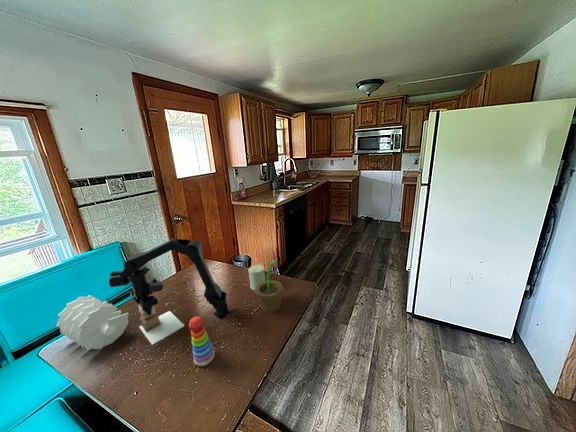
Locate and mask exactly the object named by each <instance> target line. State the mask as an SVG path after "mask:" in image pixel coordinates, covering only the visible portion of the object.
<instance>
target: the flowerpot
mask: <svg viewBox="0 0 576 432" xmlns="http://www.w3.org/2000/svg"><path fill="white" fill-rule="evenodd" d="M272 257H273V259H272V262H271V263H270V264H269V267H268V270H267V275H266V278H267V279H266V280H265V282H261V283H260V284H258V285H257V286H256V288H255V290H254V293H255V296H256V298H257V299H258V302H259V305H260V308H261V310H262V311H263V312H267V313H273V312H276V311H278V310H279V309H280V308H281V306H282V305H281V303H282V295H283V293H284V285H283V284H282V283H281V282H280V281H278V280H274V279H273V280H271V279H270V276H271V272H272V267H273V266H274V267H273V268H274V273H275V276H277V262H276V254H275V251H274V250H272Z"/></svg>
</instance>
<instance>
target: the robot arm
mask: <svg viewBox="0 0 576 432" xmlns="http://www.w3.org/2000/svg"><path fill="white" fill-rule="evenodd" d="M171 251H175V252H178V253H179V254H181V255H186V257H187V258H188V260H189V261H191V262H192V263H193V264H194V266H195V268H196V270H197V273H198V274H199V277H200V278H201V280H202V283H203V285H204V288H205V289H204V293H203V296H204V299H206V302H207V303H208V304H209V305H212V307H213V308H214V309H215V312H213V315H214V317H216V318H217V319H219V320H222V319H223V318H225V317H227V316H229V315H230V314H231V313H232V310H230V309H229V307H228V301H227V295H228V293H226V291H224V290H222V289H221V287H220V286H219V285H218V283H216V282H215V281H214V278H213V276H212V274H211V272H210V270H209V267H208V265H207V263H206V261H205V259H204V253H203V248H202V244H201V242H200V241H199V240H195V239H193V240H192V239H185V238H178V237H177V238H176V237H172V238H171V239H170V240H168V241H166V242H163V243H161V244H159V245H157V246H155V247H152V249H149V250H148V251H143V252H139V253H136V254H133V255H132V256H130V257H129V258H128V259H127V260H126V261H124V265H123V267H124V268H123V270H117V271H116V270H114V271H112V272H110V273H109V282H108V285H109V287H111V288H117V287H125V286H129V284H130V283H131V290H130V291H129V294H130V296H131V297H132V298H133V300H134V301H135V303H136V304H137V305H140V307H141V308H142V309H143V310H144V311H145V312H146V313H147V314H148V315H151V312H152V306H154V307H155V306H156V305H158V304H159V303H160V302H159V299H158V297H156V296H155V295H152V294H153V293H154V292H162V291H163V289H164V283H163V282H161V281H159V280H157V279H156V278H152V279H150V281H149V282H148V279H147V276H146V275H147V274H148V273H149V272H150V268H148V267H146V266H145V265H146V264H148V263H149V262H150V261H152V260H154V259H156V258H158V257H160V256H162V255H164V254H166V253H168V252H171ZM142 267H143V268H142Z"/></svg>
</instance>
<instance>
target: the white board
mask: <svg viewBox="0 0 576 432" xmlns="http://www.w3.org/2000/svg"><path fill="white" fill-rule="evenodd" d="M158 317H159V321H160V325H159V326H157V327H155V328H153V329H151V330H150V331H148V332H146V331H145V330H144V328H143V327H142V324H141V325H139V326H138V327H139V329H140V330H141V332H142V333H143V335H144V336H145V338H146V339H147V341H149V342H148V343H150V344H151V346H154V345H155V344H157V343H158V342H161V340H163V339H166V338H167V337H169V336H171V335H172V334H174V333H176V332H177V331H179V330H181V329H183V328H184V327H185V324H184V323H183V322H181V321H180V319H179V318H178V317H176V315H174V314H173V313H172V312H171V311H170V310H169V311H166V312H165V313H162V314H160V315H158Z"/></svg>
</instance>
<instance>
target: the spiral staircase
mask: <svg viewBox="0 0 576 432" xmlns="http://www.w3.org/2000/svg"><path fill="white" fill-rule="evenodd" d="M57 316H58V317H59V318H58V321H57V324H56V326H55V327H57V328H59V330H60V335H61V336H63V335H64V336H66V337H67V338H68V340H69V341H71V340H72V342H73V343H77V345H78V346H81V349H82V348H85V349H86V350H87V351H90V350H102V349H103V347H106V346H109V345H111V344H113V343H115V341H116V340H117V339H118V338H120V336H122V335H123V334H124V333H125V332H124V331H126V328H127V326H128V325H129V322H130V321H129V312H126V313H123V314H122V310H118V307H116V306H115V305H114V304H112V303H109V302H107V300H104V301H101V300H100V299H98V298H96V297H94V296H93V295H91V294H89V295H87V296H78V297H77V298H76V299H75V300H73V301H70V302H69V303H66V307H65V308H64V309H63V310H62V311H61V312H59V313H58V314H57Z"/></svg>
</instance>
